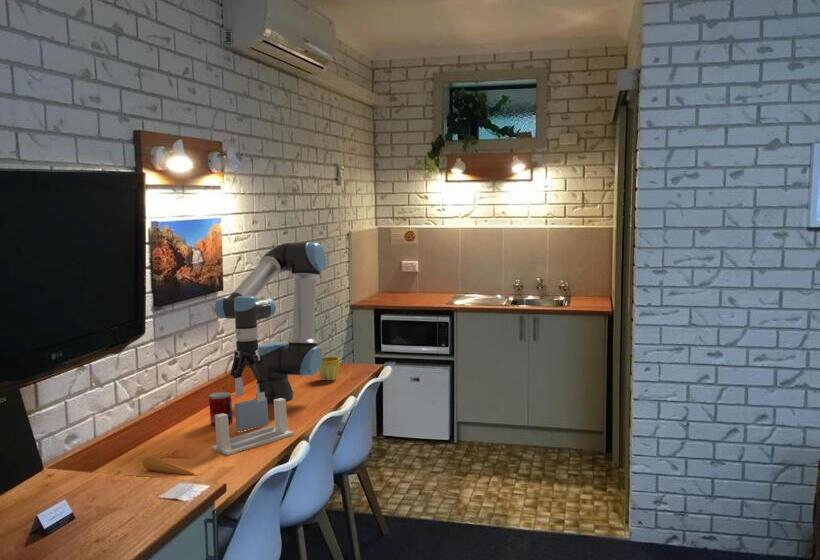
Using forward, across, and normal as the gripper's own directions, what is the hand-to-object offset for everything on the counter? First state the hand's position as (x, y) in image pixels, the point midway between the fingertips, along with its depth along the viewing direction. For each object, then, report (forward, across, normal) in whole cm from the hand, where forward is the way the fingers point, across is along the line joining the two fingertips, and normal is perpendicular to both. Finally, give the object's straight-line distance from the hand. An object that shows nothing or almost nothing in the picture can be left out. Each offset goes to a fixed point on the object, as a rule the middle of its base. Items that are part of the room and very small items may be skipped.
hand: (250, 398), depth 258 cm
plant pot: (+10, -34, +64) cm, 74 cm away
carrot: (+12, +18, -41) cm, 46 cm away
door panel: (+11, 0, 0) cm, 11 cm away
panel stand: (+11, +14, -8) cm, 20 cm away
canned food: (+11, -14, -4) cm, 18 cm away
